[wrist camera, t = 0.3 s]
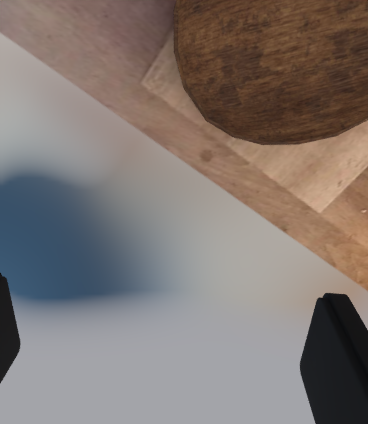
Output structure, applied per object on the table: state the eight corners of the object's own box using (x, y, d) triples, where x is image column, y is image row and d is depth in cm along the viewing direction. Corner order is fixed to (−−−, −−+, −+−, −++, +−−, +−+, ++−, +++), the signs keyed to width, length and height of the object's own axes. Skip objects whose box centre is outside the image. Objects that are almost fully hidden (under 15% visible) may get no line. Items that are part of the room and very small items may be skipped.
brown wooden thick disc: (391, 120, 38) (417, 131, 33) (189, 144, 40) (187, 157, 35) (421, -116, 29) (460, -145, 25) (162, -70, 31) (155, -88, 27)
